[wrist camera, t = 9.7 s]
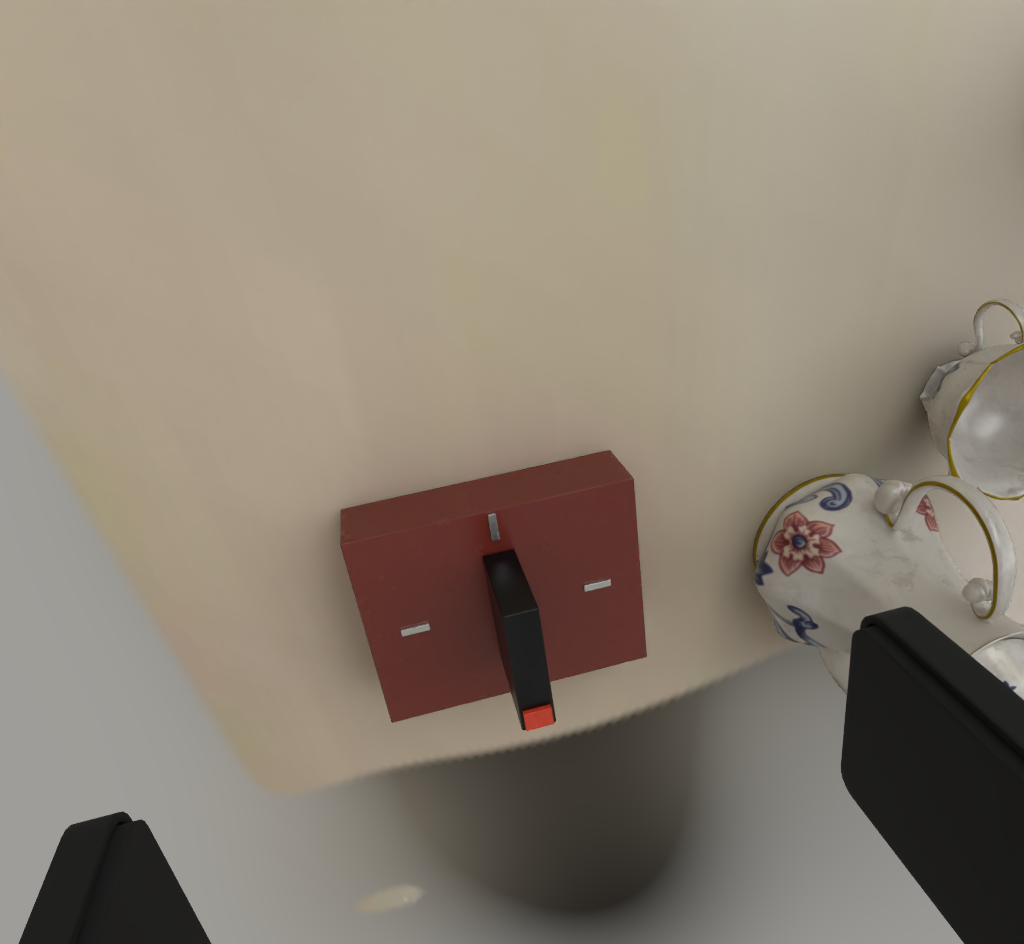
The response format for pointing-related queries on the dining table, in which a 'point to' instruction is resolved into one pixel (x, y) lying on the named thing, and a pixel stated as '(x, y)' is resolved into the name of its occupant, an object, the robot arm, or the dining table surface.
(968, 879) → the robot arm
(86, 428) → the dining table surface
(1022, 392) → the chinaware
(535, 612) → the black rectangular block
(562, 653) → the rotary switch block
